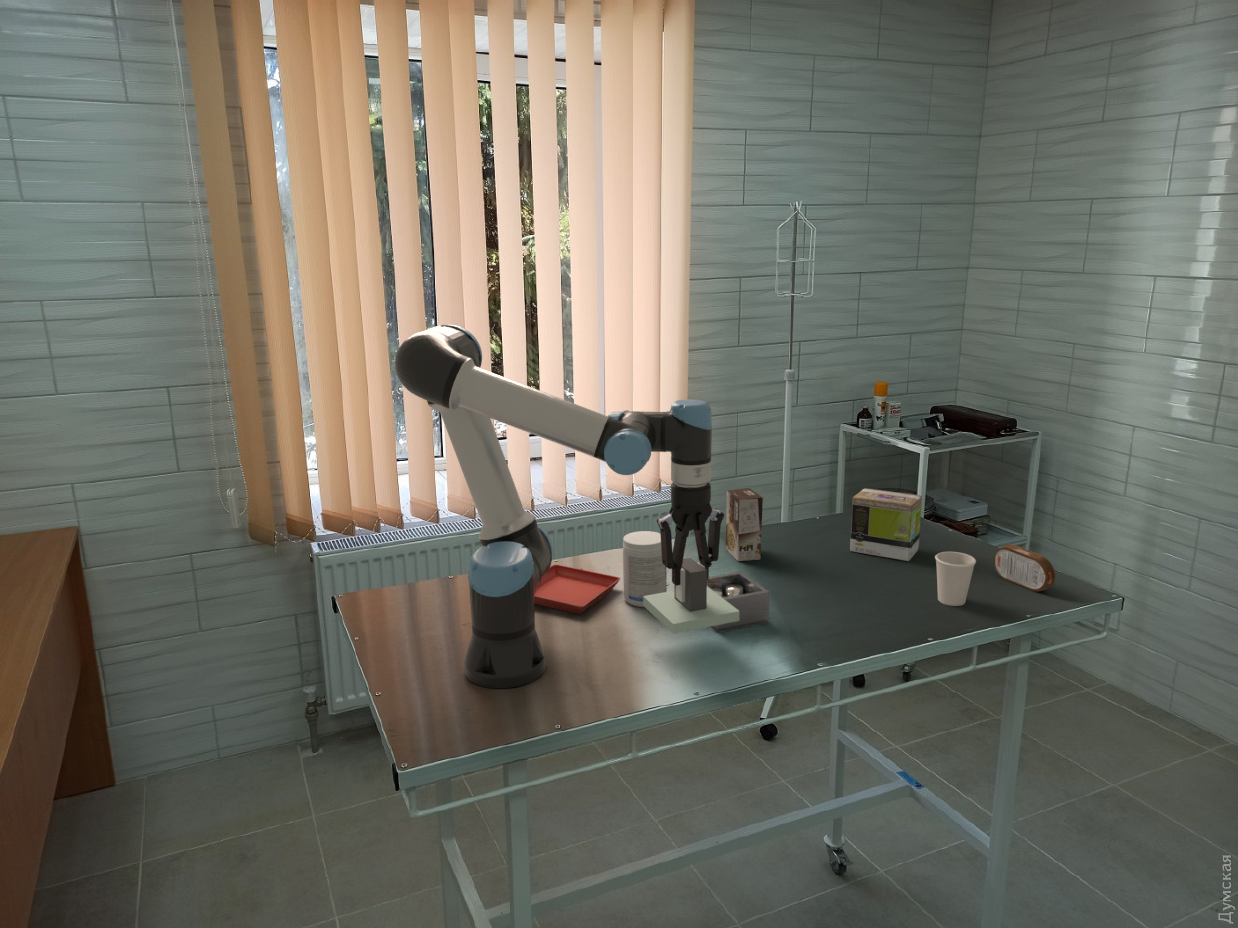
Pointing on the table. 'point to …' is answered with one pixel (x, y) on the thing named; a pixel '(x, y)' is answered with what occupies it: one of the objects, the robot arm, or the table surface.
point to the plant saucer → (572, 588)
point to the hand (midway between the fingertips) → (690, 597)
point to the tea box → (885, 523)
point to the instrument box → (741, 599)
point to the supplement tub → (643, 566)
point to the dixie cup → (953, 577)
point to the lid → (691, 603)
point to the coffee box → (744, 524)
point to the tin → (1024, 567)
